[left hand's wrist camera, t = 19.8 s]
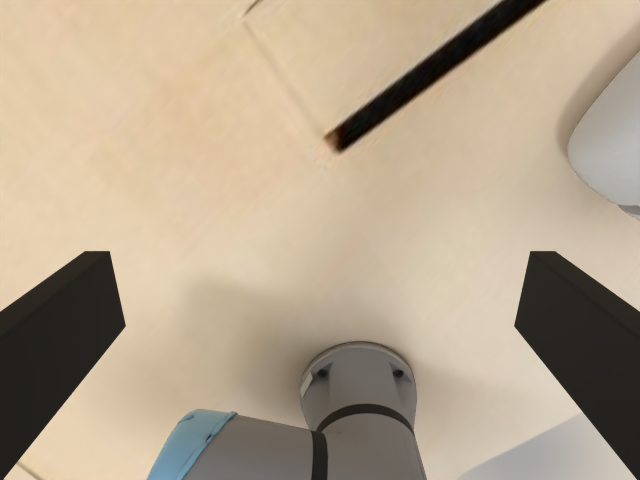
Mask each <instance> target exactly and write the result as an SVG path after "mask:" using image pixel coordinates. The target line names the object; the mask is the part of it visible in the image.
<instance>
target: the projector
mask: <svg viewBox="0 0 640 480" xmlns="http://www.w3.org/2000/svg"><path fill="white" fill-rule="evenodd" d="M567 154H568V159H569V163H570V165H571V167H572V169H573V170H574V171H575V173H576V174H577V175H578V176H579V177H580V178H581V179H582V180H583V181H584V182H585V183H586V184H587V185H588V186H590V187H591V188H592V189H593V190H595V191H596V192H597V193H599V194H600V195H601V196H603V197H604V198H606V199H607V200H608V201H610V202H612V203H615V204H618V206H619V207H620V208H621V209H622V210H623V211H625V212H626V213H628V214H629V215H631V216H632V217H634V218H636V219H637V220H639V221H640V51H639V52H638V53H637V54H636V55H635V56H634V57H633V58H632V59H631V60H630V61H629V62H628V63H627V65H626V66H625V67H624V68H623V69H622V70H621V71H620V72H619V73H618V74H617V75H616V77H615V78H614V79H613V80H612V81H611V82H610V84H609V85H608V86H607V87H606V88H605V89H604V90H603V92H602V93H601V94H600V95H599V97H598V98H597V99H596V100H595V101H594V103H593V104H592V105H591V107H590V108H589V109H588V111H587V112H586V113H585V114H584V116H583V117H582V119H581V120H580V122H579V123H578V125H577V126H576V128H575V130H574V131H573V133H572V135H571V137H570V140H569V143H568V148H567Z"/></svg>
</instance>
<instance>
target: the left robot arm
mask: <svg viewBox="0 0 640 480" xmlns="http://www.w3.org/2000/svg"><path fill="white" fill-rule="evenodd" d="M125 326H126V325H125V320H124V316H123V311H122V306H121V302H120V297H119V293H118V288H117V283H116V279H115V274H114V269H113V265H112V260H111V256H110V251H85V252H83V253H82V254H80V255H79V256H78V257H76V258H75V259H73V260H72V261H71V262H69V263H68V264H66V265H65V266H64V267H62V268H61V269H59V270H58V271H57V272H55V273H54V274H52V275H51V276H50V277H48V278H47V279H45V280H44V281H43V282H41V283H40V284H38V285H37V286H36V287H34V288H33V289H31V290H30V291H29V292H27V293H26V294H24V295H23V296H22V297H20V298H19V299H17V300H16V301H15V302H13V303H12V304H10V305H9V306H8V307H6V308H5V309H3V310H2V311H1V312H0V480H3V479H4V478H5V476H6V475H7V474H8V473H9V471H10V470H11V469H12V468H13V466H14V465H15V464H16V463H17V461H18V460H19V459H20V458H21V456H22V455H23V454H24V453H25V451H26V450H27V449H28V448H29V446H30V445H31V444H32V443H33V441H34V440H35V439H36V438H37V436H38V435H39V434H40V433H41V431H42V430H43V429H44V428H45V426H46V425H47V424H48V423H49V421H50V420H51V419H52V418H53V416H54V415H55V414H56V413H57V411H58V410H59V409H60V408H61V406H62V405H63V404H64V403H65V401H66V400H67V399H68V398H69V396H70V395H71V394H72V393H73V391H74V390H75V389H76V388H77V386H78V385H79V384H80V383H81V381H82V380H83V379H84V378H85V376H86V375H87V374H88V373H89V371H90V370H91V369H92V368H93V366H94V365H95V364H96V363H97V361H98V360H99V359H100V358H101V356H102V355H103V354H104V353H105V351H106V350H107V349H108V348H109V346H110V345H111V344H112V343H113V341H114V340H115V339H116V338H117V336H118V335H119V334H120V333H121V331H122V330H123V329H124V328H125ZM514 326H515V328H516V329H517V330H518V331H519V333H520V334H521V335H522V336H523V338H524V339H525V340H526V341H527V343H528V344H529V345H530V346H531V348H532V349H533V350H534V351H535V353H536V354H537V355H538V356H539V358H540V359H541V360H542V361H543V363H544V364H545V365H546V366H547V368H548V369H549V370H550V371H551V373H552V374H553V375H554V376H555V378H556V379H557V380H558V381H559V383H560V384H561V385H562V386H563V388H564V389H565V390H566V391H567V393H568V394H569V395H570V396H571V398H572V399H573V400H574V401H575V403H576V404H577V405H578V406H579V408H580V409H581V410H582V411H583V413H584V414H585V415H586V416H587V418H588V419H589V420H590V421H591V423H592V424H593V425H594V426H595V428H596V429H597V430H598V431H599V433H600V434H601V435H602V436H603V438H604V439H605V440H606V441H607V443H608V444H609V445H610V446H611V448H612V449H613V450H614V451H615V453H616V454H617V455H618V456H619V458H620V459H621V460H622V461H623V463H624V464H625V465H626V466H627V468H628V469H629V470H630V471H631V473H632V474H633V475H634V476H635V478H636V479H637V480H640V312H639V311H638V310H637V309H635V308H634V307H632V306H631V305H630V304H628V303H627V302H625V301H624V300H623V299H621V298H620V297H618V296H617V295H616V294H614V293H613V292H611V291H610V290H609V289H607V288H606V287H604V286H603V285H602V284H600V283H599V282H597V281H596V280H595V279H593V278H592V277H590V276H589V275H588V274H586V273H585V272H583V271H582V270H581V269H579V268H578V267H576V266H575V265H574V264H572V263H571V262H569V261H568V260H567V259H565V258H564V257H562V256H561V255H560V254H558V253H557V252H555V251H530V256H529V260H528V265H527V269H526V274H525V279H524V283H523V288H522V293H521V297H520V302H519V306H518V311H517V316H516V320H515V325H514ZM300 401H301V408H302V411H303V414H304V417H305V420H306V422H307V425H308V428H309V430H308V429H303V428H299V427H294V426H289V425H284V424H279V423H275V422H270V421H265V420H260V419H255V418H250V417H246V416H241V415H238V413H236V412H230V413H225V412H218V411H212V410H205V409H199V410H194V411H192V412H190V413H188V414H187V415H186V416H184V417H183V418H182V419H181V420H180V422H179V423H178V424H177V425H176V427H175V428H174V430H173V431H172V433H171V434H170V436H169V437H168V439H167V441H166V443H165V444H164V446H163V448H162V450H161V452H160V453H159V455H158V457H157V459H156V461H155V463H154V465H153V467H152V469H151V471H150V473H149V476H148V478H147V480H427V478H426V475H425V471H424V467H423V464H422V460H421V457H420V453H419V450H418V446H417V442H416V439H415V435H414V431H413V429H414V421H415V412H416V403H417V391H416V384H415V381H414V377H413V374H412V372H411V369H410V367H409V366H408V364H407V363H406V362H405V360H404V359H403V358H402V357H401V356H399V355H398V354H397V353H395V352H394V351H392V350H390V349H388V348H386V347H384V346H381V345H378V344H374V343H367V342H352V343H345V344H341V345H337V346H335V347H332V348H330V349H328V350H326V351H324V352H322V353H321V354H320V355H318V356H317V357H316V358H315V359H314V360H313V361H312V362H311V363H310V364H309V365H308V367H307V368H306V370H305V372H304V374H303V377H302V380H301V387H300Z"/></svg>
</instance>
